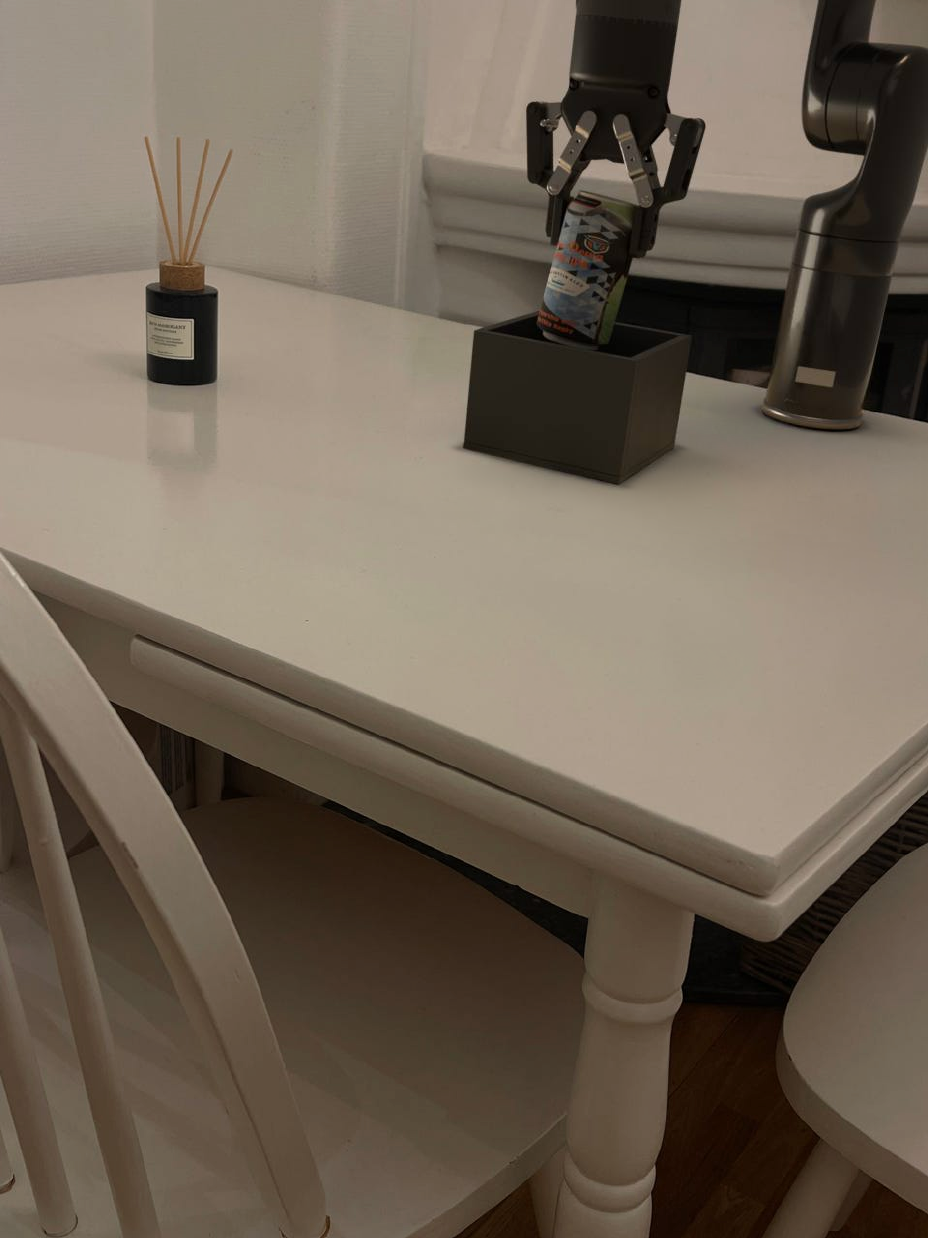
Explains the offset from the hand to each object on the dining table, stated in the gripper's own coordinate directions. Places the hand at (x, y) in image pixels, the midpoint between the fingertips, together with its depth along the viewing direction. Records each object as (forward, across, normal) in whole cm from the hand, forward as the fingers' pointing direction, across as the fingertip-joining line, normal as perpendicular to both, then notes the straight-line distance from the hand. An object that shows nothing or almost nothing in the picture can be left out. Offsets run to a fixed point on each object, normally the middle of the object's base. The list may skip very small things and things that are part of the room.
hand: (597, 250), depth 99 cm
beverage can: (+8, 0, 0) cm, 8 cm away
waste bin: (+16, 0, 0) cm, 16 cm away
